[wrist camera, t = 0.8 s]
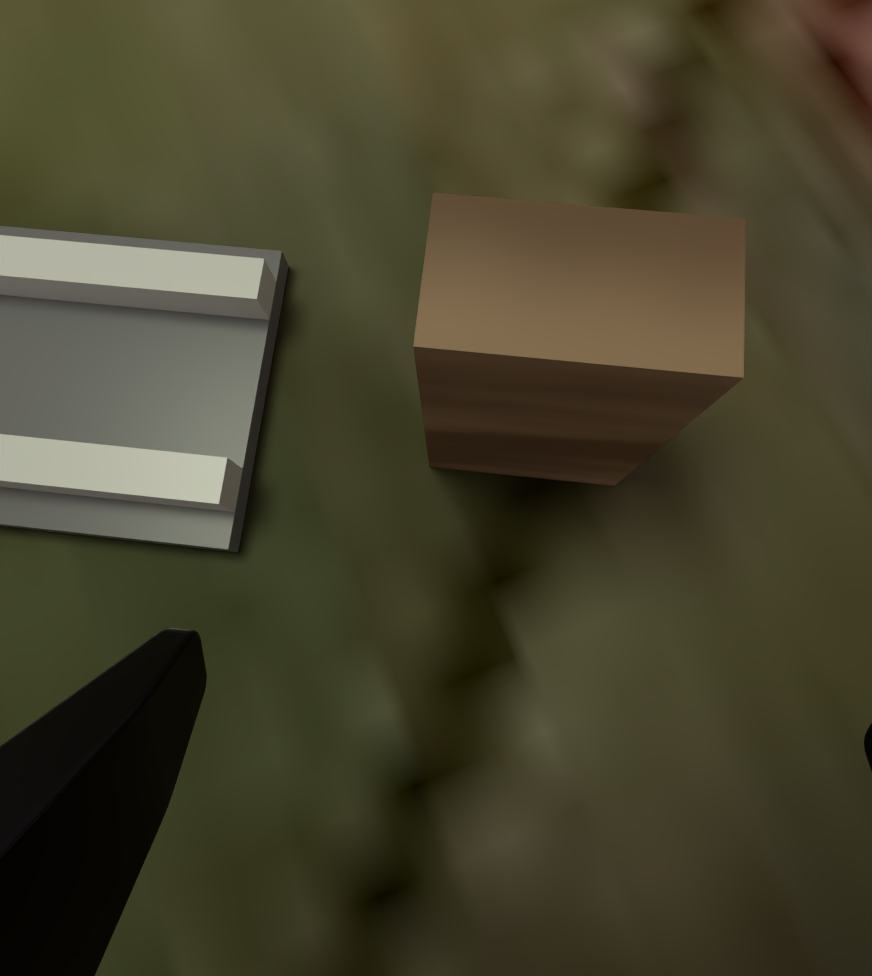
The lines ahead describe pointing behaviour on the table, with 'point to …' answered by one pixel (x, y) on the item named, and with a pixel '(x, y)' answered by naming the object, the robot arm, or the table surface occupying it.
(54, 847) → the robot arm
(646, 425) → the wooden block
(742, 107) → the table surface
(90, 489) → the track board
